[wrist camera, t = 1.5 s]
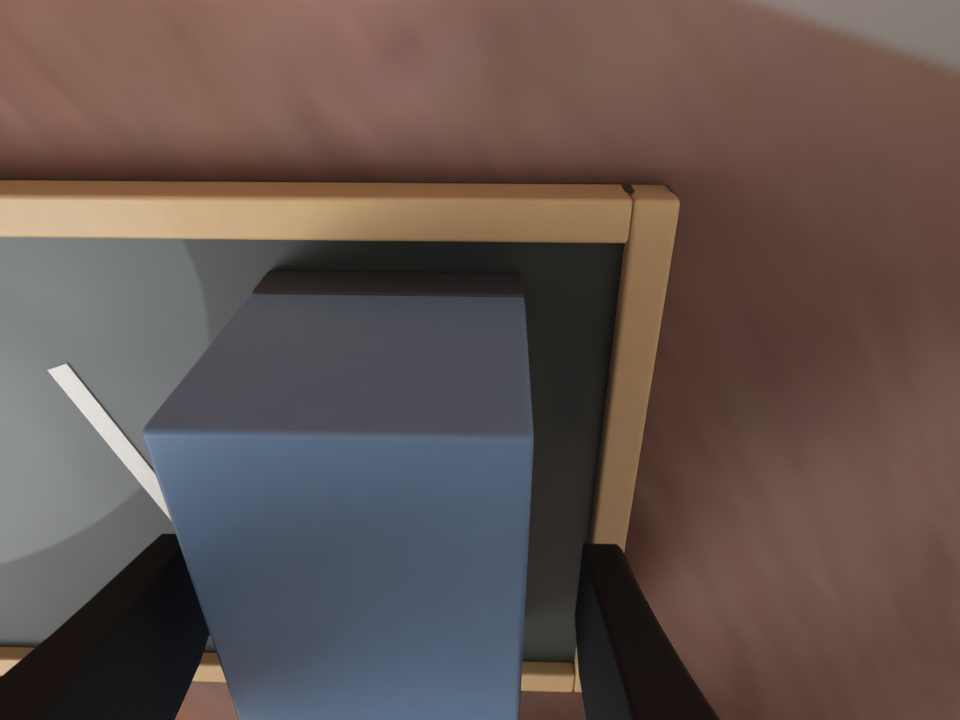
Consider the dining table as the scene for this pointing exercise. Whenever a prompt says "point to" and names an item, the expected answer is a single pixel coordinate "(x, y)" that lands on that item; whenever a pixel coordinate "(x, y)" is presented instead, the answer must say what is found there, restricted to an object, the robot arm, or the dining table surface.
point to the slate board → (218, 296)
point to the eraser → (359, 494)
